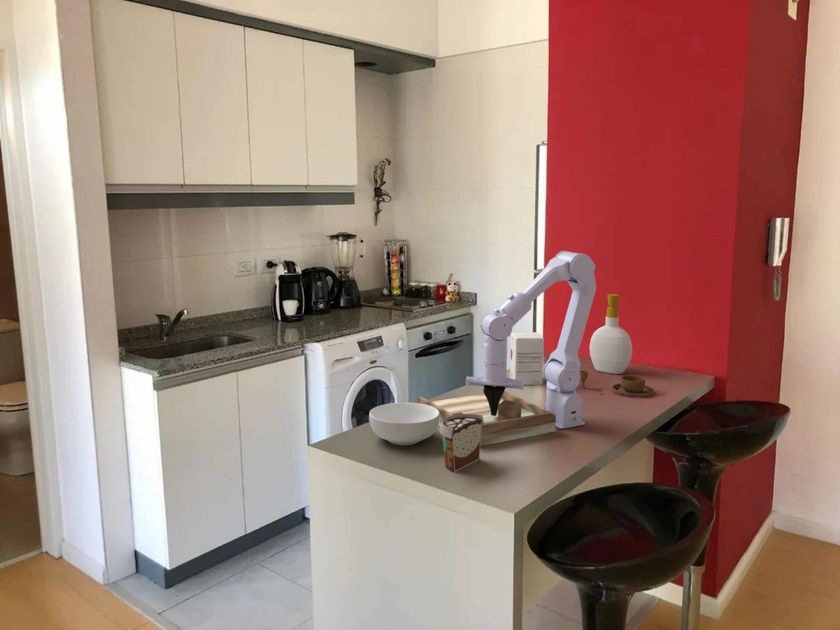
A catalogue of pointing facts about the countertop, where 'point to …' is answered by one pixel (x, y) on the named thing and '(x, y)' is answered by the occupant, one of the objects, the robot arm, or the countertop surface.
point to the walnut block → (509, 410)
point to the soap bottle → (611, 343)
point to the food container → (461, 440)
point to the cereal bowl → (404, 422)
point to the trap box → (493, 430)
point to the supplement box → (527, 357)
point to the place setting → (625, 385)
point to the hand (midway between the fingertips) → (494, 414)
